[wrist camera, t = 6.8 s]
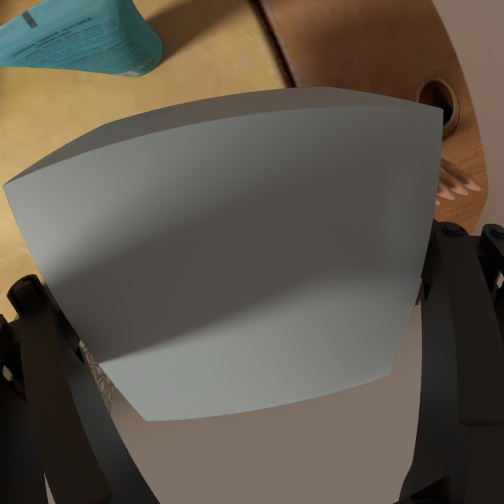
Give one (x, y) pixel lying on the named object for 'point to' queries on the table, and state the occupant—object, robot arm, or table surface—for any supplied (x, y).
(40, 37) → the tube
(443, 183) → the ammunition clip
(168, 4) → the table surface
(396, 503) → the robot arm
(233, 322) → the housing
